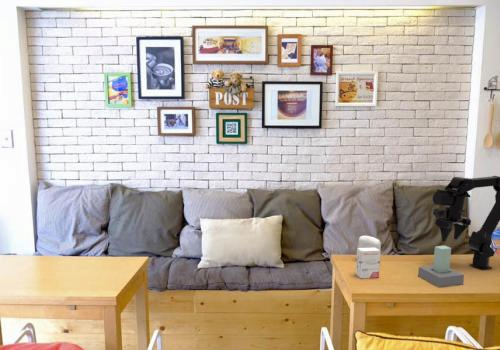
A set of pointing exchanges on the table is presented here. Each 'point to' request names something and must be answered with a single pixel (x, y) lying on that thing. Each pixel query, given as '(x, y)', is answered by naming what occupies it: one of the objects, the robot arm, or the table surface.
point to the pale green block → (442, 259)
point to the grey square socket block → (441, 277)
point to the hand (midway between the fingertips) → (449, 240)
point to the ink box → (368, 262)
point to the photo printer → (369, 242)
